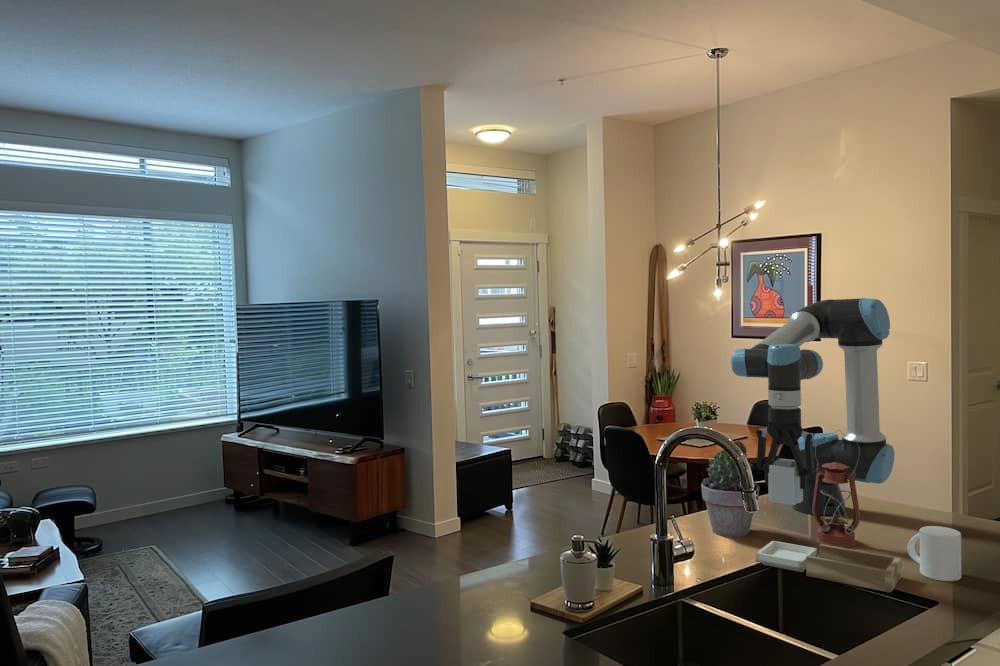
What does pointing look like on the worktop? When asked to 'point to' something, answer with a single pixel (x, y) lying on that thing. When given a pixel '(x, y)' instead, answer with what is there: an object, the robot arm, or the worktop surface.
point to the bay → (855, 568)
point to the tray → (785, 555)
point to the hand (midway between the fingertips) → (785, 499)
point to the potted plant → (726, 496)
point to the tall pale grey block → (783, 481)
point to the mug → (938, 552)
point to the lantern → (835, 527)
